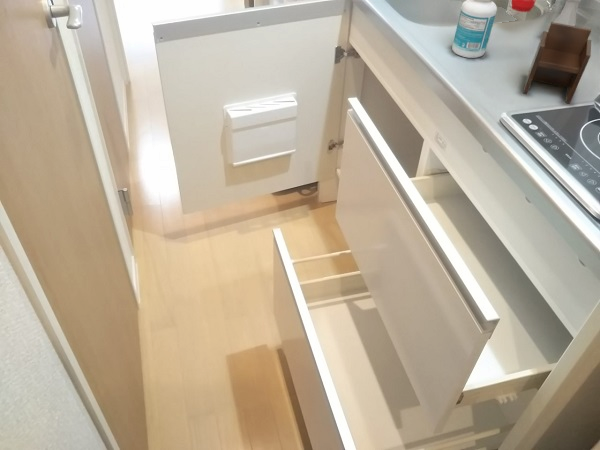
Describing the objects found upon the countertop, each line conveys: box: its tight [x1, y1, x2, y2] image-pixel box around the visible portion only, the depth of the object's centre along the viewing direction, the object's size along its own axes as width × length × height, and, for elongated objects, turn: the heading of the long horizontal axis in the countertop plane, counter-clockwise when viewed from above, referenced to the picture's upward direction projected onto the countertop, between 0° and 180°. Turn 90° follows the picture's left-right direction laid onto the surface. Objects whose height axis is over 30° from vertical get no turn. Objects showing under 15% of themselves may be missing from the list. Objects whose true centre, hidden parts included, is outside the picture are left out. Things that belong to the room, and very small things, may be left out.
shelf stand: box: [522, 21, 592, 105], centre depth 103 cm, size 9×8×12 cm
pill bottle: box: [451, 0, 498, 59], centre depth 114 cm, size 8×7×14 cm
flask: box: [546, 0, 582, 32], centre depth 123 cm, size 7×7×10 cm
